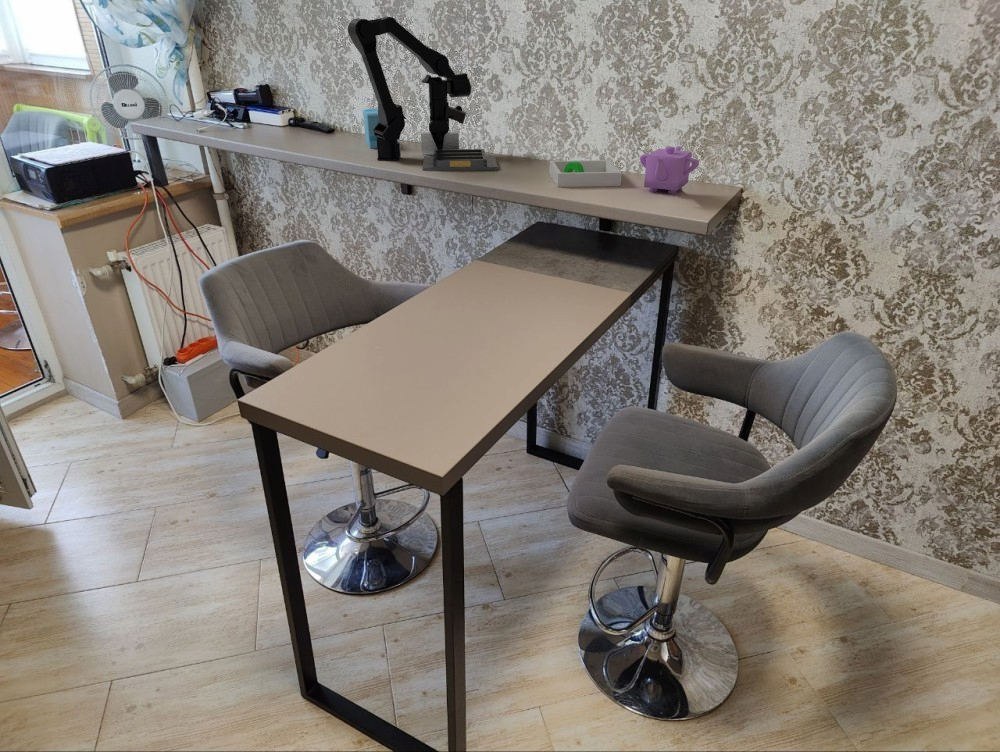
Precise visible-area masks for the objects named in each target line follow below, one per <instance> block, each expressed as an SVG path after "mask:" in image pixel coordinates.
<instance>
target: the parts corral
mask: <svg viewBox="0 0 1000 752" xmlns="http://www.w3.org/2000/svg"><path fill="white" fill-rule="evenodd" d="M576 161H577V162H579V163H581V165H582V166H583V168H584V172H578V173H575V171H574V170H573V173H564V168H565V166H566V165H567V164H568V163H570V162H576ZM548 172H549V175H550V177H551V178H552V180H553V183H555V185H556V187H557V188H571V187H573V188H576V187H577V188H579V187H581V188H583V187H584V188H585V187H587V188H588V187H589V188H590V187H621V185H622V175H623V174H622V172H621V170H619V168H618V167H616V166H615V165H614V164H613V163H612V162H611V161H610V160H608V159H595V160H593V159H592V160H591V159H590V160H585V159H584V160H580V159H579V160H549V169H548Z"/></svg>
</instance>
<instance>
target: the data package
mask: <svg viewBox="0 0 1000 752" xmlns="http://www.w3.org/2000/svg"><path fill="white" fill-rule="evenodd" d="M362 116H363V126H364V127H363V128H364V129H363V130H364V138H365V143H366V145H367V146H368V148H369V149H370V150H372V149H377V137H375V135H374V133H373V129H374V128H375V127H376V125H377V124H378V123H379V117H378V108H372V109H370V108H368V109H367V108H366V109H363V111H362Z"/></svg>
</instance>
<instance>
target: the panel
mask: <svg viewBox="0 0 1000 752" xmlns="http://www.w3.org/2000/svg"><path fill="white" fill-rule="evenodd" d="M420 146H421V148H420V149H421V156H434V150H438V149H437V147H436V144H435V142H434V140H433V138H432V135H431V133H430V131H429V132H420ZM450 149H460V134H459V131H455V132H454V131H452V132H451V131H449V132H447V133H446V134H445V136H444V142H443V149H442V150H450Z"/></svg>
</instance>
